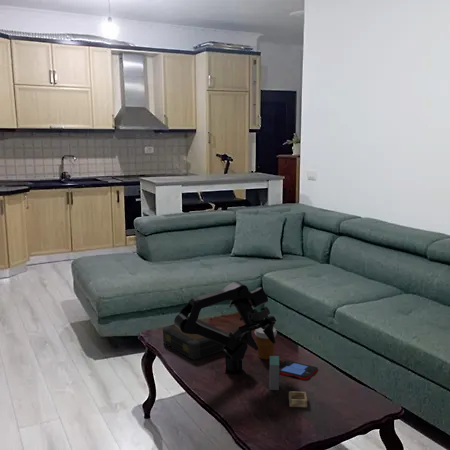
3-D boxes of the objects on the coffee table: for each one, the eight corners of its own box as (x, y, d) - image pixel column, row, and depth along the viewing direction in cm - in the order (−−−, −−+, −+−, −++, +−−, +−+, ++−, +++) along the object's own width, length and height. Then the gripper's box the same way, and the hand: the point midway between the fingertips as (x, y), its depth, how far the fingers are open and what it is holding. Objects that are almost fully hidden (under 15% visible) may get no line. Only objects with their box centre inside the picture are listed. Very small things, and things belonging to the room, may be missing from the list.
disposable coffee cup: (251, 359, 211) (251, 332, 208) (258, 350, 219) (258, 324, 217) (273, 362, 207) (273, 335, 205) (279, 353, 216) (279, 327, 214)
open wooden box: (289, 408, 172) (289, 400, 172) (288, 399, 178) (288, 391, 178) (307, 408, 172) (307, 400, 171) (305, 399, 178) (305, 391, 177)
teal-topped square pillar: (269, 390, 184) (269, 359, 182) (269, 385, 187) (269, 355, 185) (278, 390, 184) (279, 360, 182) (278, 385, 187) (278, 356, 185)
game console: (318, 370, 201) (318, 364, 201) (306, 383, 190) (306, 377, 190) (286, 362, 209) (286, 357, 208) (272, 374, 198) (272, 369, 198)
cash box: (230, 348, 222) (230, 332, 221) (193, 361, 209) (193, 344, 208) (197, 332, 241) (197, 316, 240) (161, 343, 228) (161, 327, 227)
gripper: (238, 307, 185) (259, 344, 179) (273, 296, 197) (293, 330, 191) (224, 321, 192) (244, 357, 186) (259, 310, 204) (278, 343, 198)
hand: (266, 346), depth 190 cm, fingers open, 9 cm apart
